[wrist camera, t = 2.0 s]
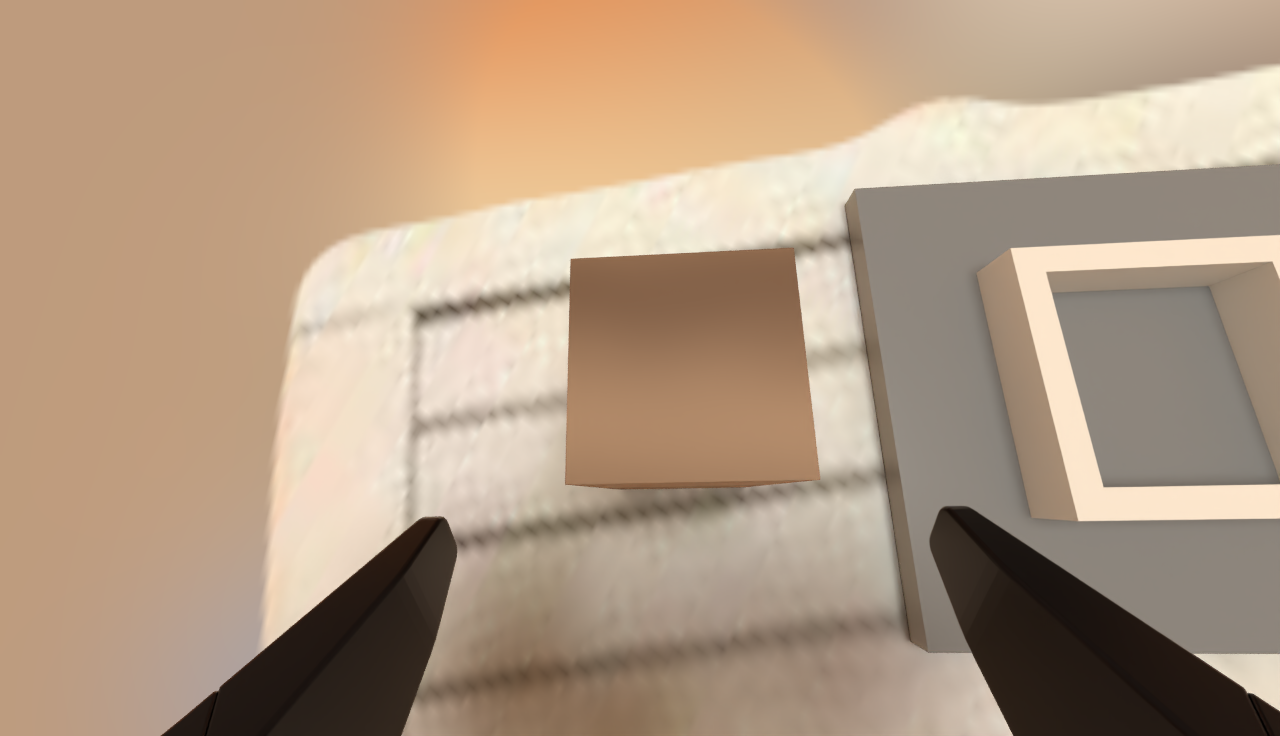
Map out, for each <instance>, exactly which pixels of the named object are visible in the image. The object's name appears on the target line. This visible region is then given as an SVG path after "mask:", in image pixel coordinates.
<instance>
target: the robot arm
mask: <svg viewBox="0 0 1280 736" xmlns="http://www.w3.org/2000/svg"><path fill="white" fill-rule="evenodd" d="M929 545H930V550H931V553H932V555H933V558H934V561H935V563H936V566H937V568H938V571H939V574H940V576H941V579H942V581H943V584H944V587H945V589H946V592H947V594H948V597H949V600H950V602H951V605H952V607H953V610H954V613H955V615H956V618H957V621H958V623H959V626H960V628H961V630H962V633H963V635H964V638H965V640H966V642H967V644H968V646H969V648H970V650H971V652H972V654H973V656H974V658H975V660H976V662H977V664H978V666H979V668H980V670H981V672H982V674H983V676H984V678H985V680H986V682H987V684H988V686H989V688H990V690H991V692H992V694H993V696H994V698H995V700H996V702H997V704H998V706H999V708H1000V710H1001V712H1002V714H1003V716H1004V718H1005V720H1006V722H1007V724H1008V726H1009V728H1010V730H1011V732H1012V734H1013V736H1280V711H1279V710H1277V709H1276V708H1274V707H1272V706H1271V705H1269V704H1268V703H1266V702H1265V701H1263V700H1262V699H1260V698H1259V697H1257V696H1256V695H1254V694H1252V693H1247V692H1246V690H1245V689H1244V688H1243V687H1242V686H1240V685H1239V684H1237V683H1236V682H1234V681H1233V680H1231V679H1230V678H1228V677H1227V676H1225V675H1224V674H1222V673H1221V672H1219V671H1218V670H1216V669H1215V668H1213V667H1212V666H1210V665H1209V664H1207V663H1206V662H1204V661H1203V660H1201V659H1200V658H1198V657H1196V656H1195V655H1193V654H1192V653H1190V652H1189V651H1187V650H1186V649H1184V648H1183V647H1181V646H1180V645H1178V644H1177V643H1175V642H1174V641H1172V640H1171V639H1169V638H1168V637H1166V636H1165V635H1163V634H1162V633H1160V632H1159V631H1157V630H1156V629H1154V628H1153V627H1151V626H1150V625H1148V624H1147V623H1145V622H1144V621H1142V620H1140V619H1139V618H1137V617H1136V616H1134V615H1133V614H1131V613H1130V612H1128V611H1127V610H1125V609H1124V608H1122V607H1121V606H1119V605H1118V604H1116V603H1115V602H1113V601H1112V600H1110V599H1109V598H1107V597H1106V596H1104V595H1103V594H1101V593H1100V592H1098V591H1097V590H1095V589H1094V588H1092V587H1091V586H1089V585H1087V584H1086V583H1084V582H1083V581H1081V580H1080V579H1078V578H1077V577H1075V576H1074V575H1072V574H1071V573H1069V572H1068V571H1066V570H1065V569H1063V568H1062V567H1060V566H1059V565H1057V564H1056V563H1054V562H1053V561H1051V560H1050V559H1048V558H1047V557H1045V556H1044V555H1042V554H1041V553H1039V552H1038V551H1036V550H1035V549H1033V548H1031V547H1030V546H1028V545H1027V544H1025V543H1024V542H1022V541H1021V540H1019V539H1018V538H1016V537H1015V536H1013V535H1012V534H1010V533H1009V532H1007V531H1006V530H1004V529H1003V528H1001V527H1000V526H998V525H997V524H995V523H994V522H992V521H991V520H989V519H988V518H986V517H985V516H983V515H982V514H980V513H979V512H977V511H975V510H974V509H972V508H970V507H968V506H944V507H942V508H941V509H940V510H939V512H938V515H937V517H936V520H935V523H934V526H933V528H932V531H931V534H930V538H929ZM456 558H457V545H456V542H455V540H454V537H453V534H452V532H451V529H450V527H449V524H448V522H447V520H446V519H445V518H444V517H441V516H439V517H423V518H421V519H419V520H418V521H416V522H415V523H414V524H413V525H412V526H411V527H409V528H408V529H407V530H406V531H405V532H403V533H402V534H401V535H400V536H399V537H397V538H396V539H395V540H394V541H393V542H392V543H390V544H389V545H388V546H387V547H386V548H384V549H383V550H382V551H381V552H380V553H378V554H377V555H376V556H375V557H374V558H373V559H371V560H370V561H369V562H368V563H367V564H365V565H364V566H363V567H362V568H361V569H359V570H358V571H357V572H356V573H355V574H353V575H352V576H351V577H350V578H349V579H348V580H346V581H345V582H344V583H343V584H342V585H340V586H339V587H338V588H337V589H336V590H334V591H333V592H332V593H331V594H330V595H329V596H327V597H326V598H325V599H324V600H323V601H321V602H320V603H319V604H318V605H317V606H315V607H314V608H313V609H312V610H311V611H310V612H308V613H307V614H306V615H305V616H304V617H302V618H301V619H300V620H299V621H298V622H296V623H295V624H294V625H293V626H292V627H290V628H289V629H288V630H287V631H286V632H285V633H283V634H282V635H281V636H280V637H279V638H277V639H276V640H275V641H274V642H273V643H271V644H270V645H269V646H268V647H267V648H266V649H264V650H263V651H262V652H261V653H260V654H258V655H257V656H256V657H255V658H254V659H252V660H251V661H250V662H249V663H248V664H247V665H245V666H244V667H243V668H242V669H241V670H239V671H238V672H237V673H236V674H235V675H233V676H232V677H231V678H230V679H229V680H227V681H226V682H225V683H224V684H223V685H222V686H221V687H220V689H219V691H215V692H213V693H212V694H211V695H209V696H208V697H207V698H206V699H205V700H203V702H201V703H200V704H199V705H198V706H196V707H195V708H194V709H193V710H192V711H190V712H189V713H188V714H187V715H186V716H184V717H183V718H182V719H181V720H180V721H178V722H177V723H176V724H175V725H173V726H172V727H171V728H170V729H169V730H167V731H166V732H165V733H164V734H162V735H161V736H401V735H402V732H403V729H404V727H405V724H406V721H407V718H408V716H409V713H410V710H411V707H412V705H413V702H414V699H415V696H416V693H417V691H418V688H419V685H420V682H421V680H422V677H423V674H424V671H425V669H426V666H427V663H428V660H429V658H430V655H431V652H432V649H433V646H434V643H435V640H436V636H437V633H438V629H439V626H440V622H441V618H442V614H443V610H444V606H445V602H446V598H447V594H448V590H449V586H450V582H451V578H452V574H453V570H454V566H455V562H456Z"/></svg>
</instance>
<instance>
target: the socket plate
mask: <svg viewBox="0 0 1280 736" xmlns="http://www.w3.org/2000/svg"><path fill="white" fill-rule="evenodd" d="M845 208H846V214H847V221H848V228H849V234H850V241H851V247H852V254H853V261H854V267H855V274H856V281H857V287H858V294H859V301H860V307H861V314H862V321H863V327H864V334H865V340H866V347H867V354H868V360H869V367H870V374H871V380H872V387H873V394H874V400H875V407H876V413H877V420H878V427H879V433H880V440H881V447H882V453H883V460H884V467H885V473H886V480H887V487H888V493H889V500H890V506H891V513H892V520H893V526H894V533H895V540H896V546H897V553H898V560H899V566H900V573H901V579H902V586H903V593H904V599H905V606H906V613H907V619H908V626H909V633H910V639H911V642H912V643H914V644H915V645H917V646H919V647H920V648H922V649H923V650H925V651H927V652H928V653H972V652H971V650H970V648H969V646H968V644H967V642H966V640H965V638H964V635H963V633H962V630H961V628H960V626H959V623H958V621H957V618H956V615H955V613H954V610H953V607H952V605H951V602H950V600H949V597H948V594H947V592H946V589H945V587H944V584H943V581H942V579H941V576H940V574H939V571H938V568H937V566H936V563H935V561H934V558H933V555H932V553H931V550H930V545H929V538H930V534H931V531H932V528H933V526H934V523H935V520H936V517H937V515H938V512H939V510H940V509H941V508H942V507H944V506H968V507H970V508H972V509H974V510H975V511H977V512H979V513H980V514H982V515H983V516H985V517H986V518H988V519H989V520H991V521H992V522H994V523H995V524H997V525H998V526H1000V527H1001V528H1003V529H1004V530H1006V531H1007V532H1009V533H1010V534H1012V535H1013V536H1015V537H1016V538H1018V539H1019V540H1021V541H1022V542H1024V543H1025V544H1027V545H1028V546H1030V547H1031V548H1033V549H1035V550H1036V551H1038V552H1039V553H1041V554H1042V555H1044V556H1045V557H1047V558H1048V559H1050V560H1051V561H1053V562H1054V563H1056V564H1057V565H1059V566H1060V567H1062V568H1063V569H1065V570H1066V571H1068V572H1069V573H1071V574H1072V575H1074V576H1075V577H1077V578H1078V579H1080V580H1081V581H1083V582H1084V583H1086V584H1087V585H1089V586H1091V587H1092V588H1094V589H1095V590H1097V591H1098V592H1100V593H1101V594H1103V595H1104V596H1106V597H1107V598H1109V599H1110V600H1112V601H1113V602H1115V603H1116V604H1118V605H1119V606H1121V607H1122V608H1124V609H1125V610H1127V611H1128V612H1130V613H1131V614H1133V615H1134V616H1136V617H1137V618H1139V619H1140V620H1142V621H1144V622H1145V623H1147V624H1148V625H1150V626H1151V627H1153V628H1154V629H1156V630H1157V631H1159V632H1160V633H1162V634H1163V635H1165V636H1166V637H1168V638H1169V639H1171V640H1172V641H1174V642H1175V643H1177V644H1178V645H1180V646H1181V647H1183V648H1184V649H1186V650H1187V651H1189V652H1190V653H1192V654H1280V164H1277V165H1260V166H1242V167H1225V168H1208V169H1190V170H1173V171H1156V172H1138V173H1121V174H1104V175H1086V176H1069V177H1052V178H1034V179H1017V180H1000V181H982V182H965V183H948V184H930V185H913V186H896V187H879V188H861V189H854V191H853V193H852V194H851V196H850V198H849V200H848V201H847V203H846V205H845Z"/></svg>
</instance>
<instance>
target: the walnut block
mask: <svg viewBox="0 0 1280 736" xmlns="http://www.w3.org/2000/svg"><path fill="white" fill-rule="evenodd" d="M812 480H820V473H819V465H818V456H817V447H816V438H815V430H814V421H813V412H812V404H811V395H810V386H809V377H808V369H807V360H806V351H805V342H804V334H803V325H802V316H801V308H800V299H799V290H798V281H797V273H796V264H795V255H794V248H779V249H759V250H739V251H719V252H699V253H679V254H659V255H639V256H619V257H599V258H579V259H571V266H570V308H569V349H568V390H567V431H566V472H565V485H576V486H588V487H599V488H610V489H670V488H725V487H751V486H761V485H771V484H781V483H792V482H802V481H812Z"/></svg>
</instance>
